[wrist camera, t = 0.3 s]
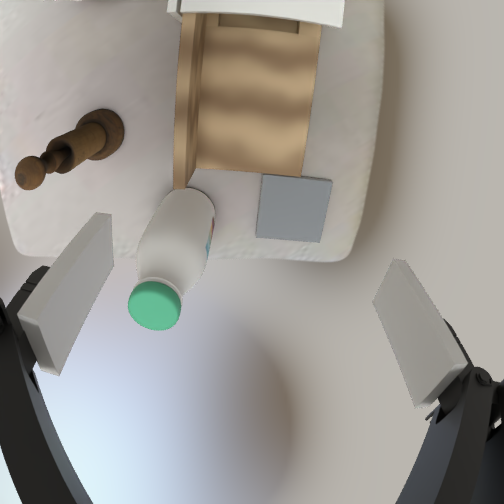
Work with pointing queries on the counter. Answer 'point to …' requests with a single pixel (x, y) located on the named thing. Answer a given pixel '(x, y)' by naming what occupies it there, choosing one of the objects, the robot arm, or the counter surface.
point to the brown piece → (243, 94)
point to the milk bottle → (171, 257)
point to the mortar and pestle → (73, 148)
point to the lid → (266, 9)
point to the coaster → (292, 207)
